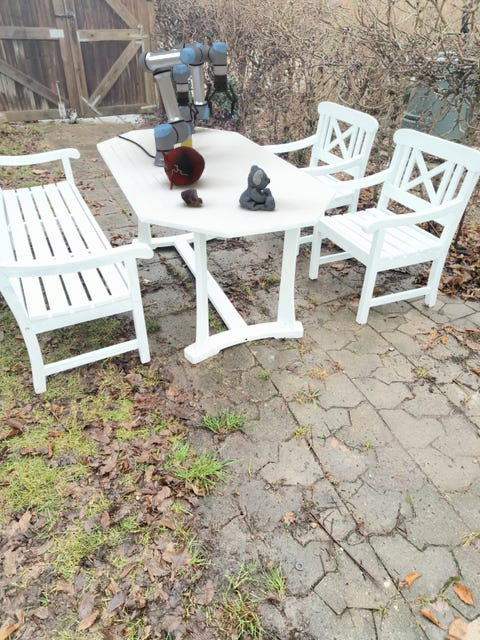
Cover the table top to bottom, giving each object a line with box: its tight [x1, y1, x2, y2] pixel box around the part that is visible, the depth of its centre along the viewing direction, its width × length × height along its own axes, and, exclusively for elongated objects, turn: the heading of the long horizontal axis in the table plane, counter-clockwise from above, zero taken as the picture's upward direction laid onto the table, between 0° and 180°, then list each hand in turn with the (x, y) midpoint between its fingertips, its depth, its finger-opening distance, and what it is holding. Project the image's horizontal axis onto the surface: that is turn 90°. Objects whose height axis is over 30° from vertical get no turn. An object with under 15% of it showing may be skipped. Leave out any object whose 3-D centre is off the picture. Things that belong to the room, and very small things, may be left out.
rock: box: [180, 188, 204, 207], centre depth 229 cm, size 12×9×10 cm
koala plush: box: [238, 164, 276, 211], centre depth 224 cm, size 17×18×20 cm
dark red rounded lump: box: [161, 145, 206, 190], centre depth 255 cm, size 21×24×25 cm
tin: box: [179, 134, 194, 149], centre depth 318 cm, size 8×8×11 cm
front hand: (221, 114), depth 268 cm, fingers open, 13 cm apart
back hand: (185, 125), depth 311 cm, fingers open, 13 cm apart
